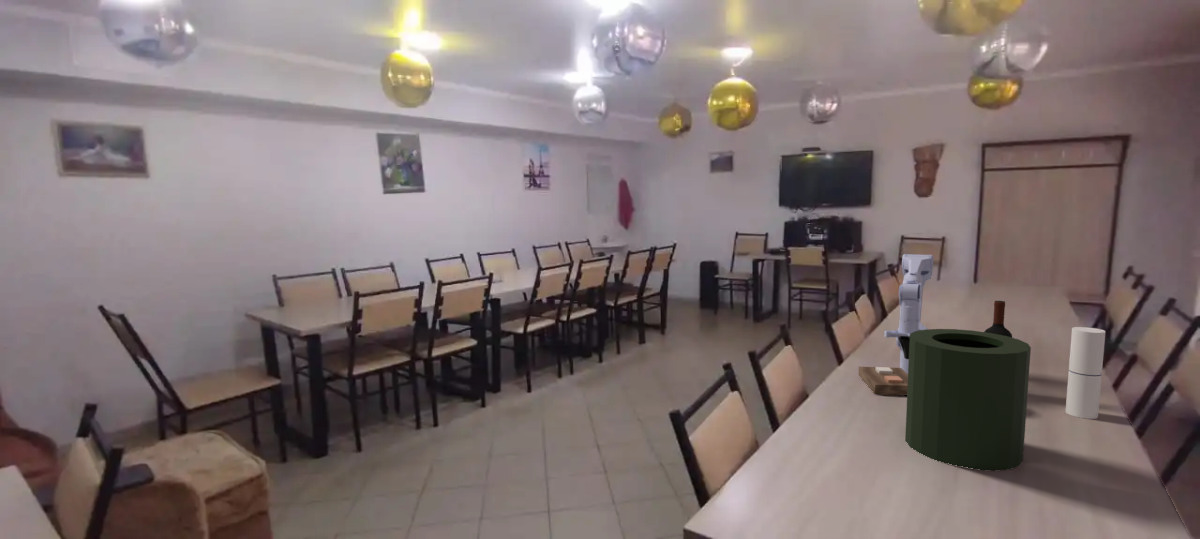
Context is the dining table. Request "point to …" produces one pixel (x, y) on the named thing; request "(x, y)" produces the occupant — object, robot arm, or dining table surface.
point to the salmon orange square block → (893, 379)
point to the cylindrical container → (1085, 372)
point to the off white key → (884, 370)
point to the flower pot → (967, 397)
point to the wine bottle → (999, 320)
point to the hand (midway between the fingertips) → (907, 358)
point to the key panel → (884, 381)
